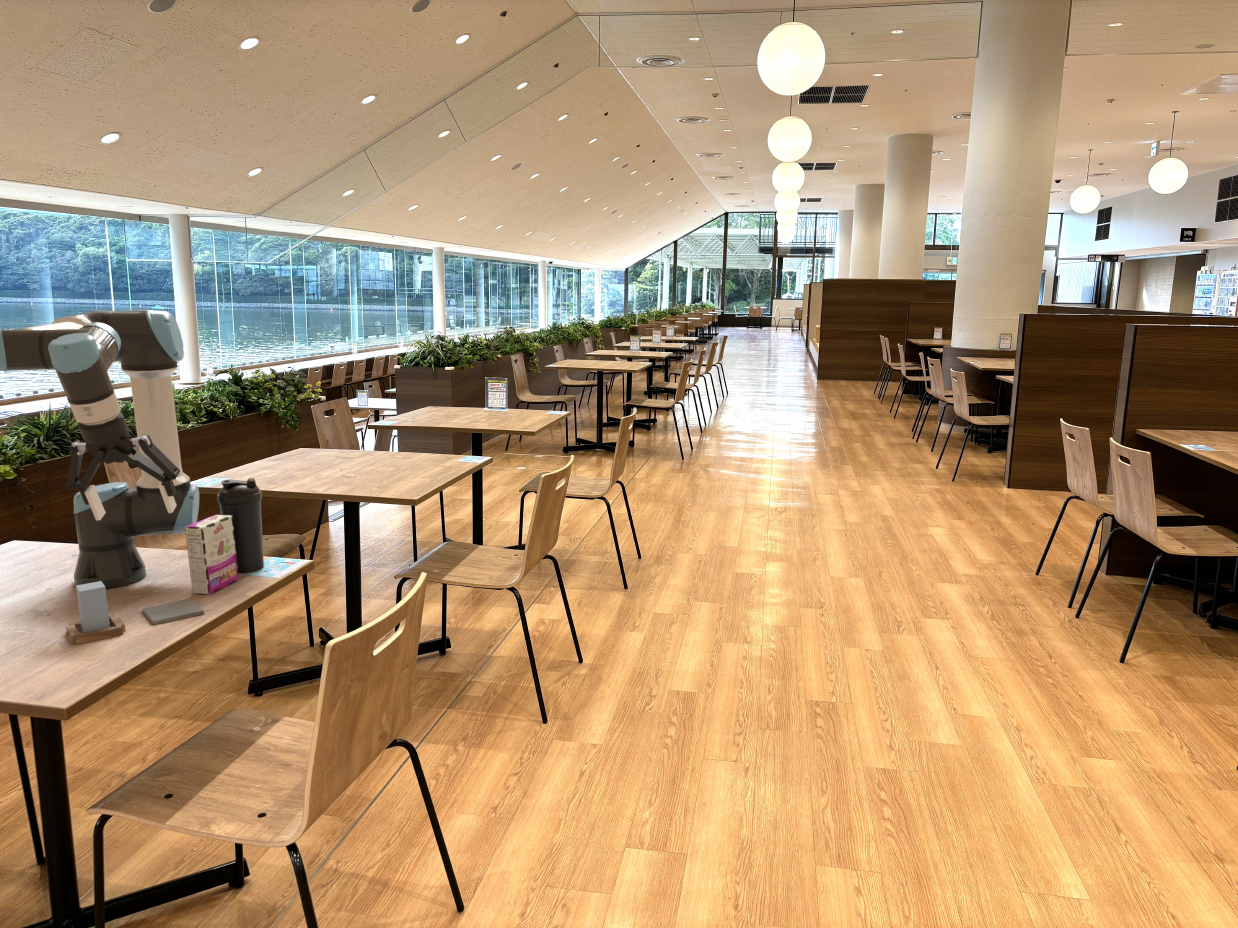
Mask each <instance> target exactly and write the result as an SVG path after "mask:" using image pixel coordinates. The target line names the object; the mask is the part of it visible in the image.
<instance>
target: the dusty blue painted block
mask: <svg viewBox="0 0 1238 928" xmlns="http://www.w3.org/2000/svg"><path fill="white" fill-rule="evenodd" d="M106 589H107V588H105V586H104V584H103V583H102V582H101V581H99V582H93V583H88V584H82V585H77V586H75V590H76V591H75V592H76V597H77V598H76V599H77V606H78V615H79V621H80V623H81V630H80V631H81V634H82V633H87V632H91V631H96V630H101V629H105V628H110V627H111V624H110V622H109V615H110V614H109V608H108V599H107V590H106Z"/></svg>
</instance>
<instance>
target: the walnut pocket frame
mask: <svg viewBox="0 0 1238 928" xmlns="http://www.w3.org/2000/svg"><path fill="white" fill-rule="evenodd" d="M109 622H110V628H105V629H101V630H96V631H91V632H87V633H82V632H81V633H80V631H81V623H80V620H79V621H73V622H70V623H68V625H66V626H65V630H66V635H67V637H68V639H69V641H70V642H71V644H72V643H73V644H74V643H76V644H77V645H80V644H85V643H90V642H95V641H100V640H102V639H103V640H104V639H107V638H108V639H109V638H112V637H117V636H123V635H124V632H126V624H125V622H124V621H123V620H122V619H121V618H120V616H119V615H114V614H109Z"/></svg>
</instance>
